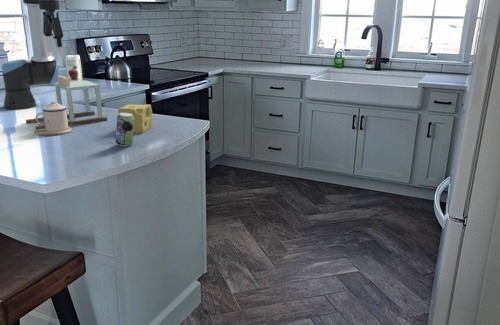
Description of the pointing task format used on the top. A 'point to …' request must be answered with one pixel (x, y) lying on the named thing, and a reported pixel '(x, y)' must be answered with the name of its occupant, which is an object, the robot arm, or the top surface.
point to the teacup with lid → (54, 117)
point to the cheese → (139, 116)
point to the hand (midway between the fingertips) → (55, 53)
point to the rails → (71, 122)
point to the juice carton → (74, 68)
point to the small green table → (77, 85)
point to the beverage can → (124, 129)
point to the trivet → (47, 133)
